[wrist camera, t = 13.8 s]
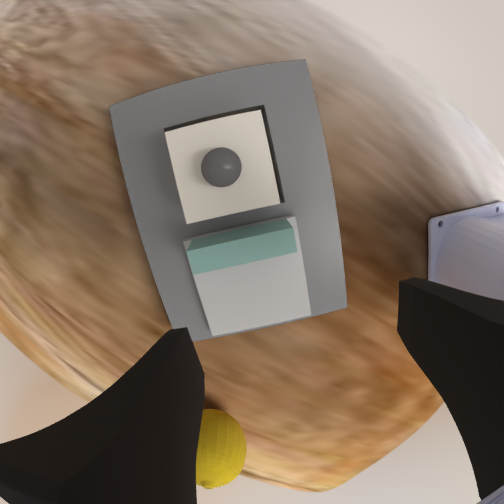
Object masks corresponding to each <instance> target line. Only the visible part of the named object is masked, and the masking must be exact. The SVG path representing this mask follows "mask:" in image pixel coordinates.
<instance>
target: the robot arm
mask: <svg viewBox="0 0 504 504" xmlns="http://www.w3.org/2000/svg"><path fill="white" fill-rule="evenodd" d="M439 221H440V225H439V226H438V223H439ZM428 247H429V257H428V280H425V279H420V278H410V279H407V280H403V281H399V307H398V326H397V331H398V333H399V335H400V337H401V339H402V341H403V343H404V345H405V346H406V348H407V350H408V352H409V353H410V355H411V356H412V357H413V359H414V360H415V361H416V363H417V364H418V365H419V367H420V368H421V369H422V371H423V372H424V373H425V375H426V376H427V377H428V379H429V380H430V381H431V383H432V384H433V386H434V387H435V388H436V390H437V391H438V392H439V394H440V395H441V397H442V398H443V400H444V402H445V403H446V405H447V407H448V409H449V411H450V413H451V415H452V417H453V419H454V421H455V423H456V425H457V427H458V430H459V432H460V434H461V436H462V439H463V441H464V443H465V446H466V449H467V452H468V454H469V458H470V461H471V464H472V467H473V471H474V474H475V478H476V482H477V487H478V492H479V497H480V498H481V501H480V502H479V503H477V504H504V202H497V203H493V204H489V205H484V206H480V207H476V208H472V209H468V210H463V211H459V212H455V213H450V214H446V215H442V216H438V217H433V218H431V219H430V220H429V222H428ZM204 389H205V387H204V372H203V369H202V366H201V364H200V361H199V358H198V356H197V353H196V350H195V348H194V345H193V342H192V339H191V336H190V334H189V331H188V328H187V327H184V328H178V329H171V330H169V331H168V332H166V333H165V334H164V335H163V336H162V337H161V338H160V339H159V340H158V341H157V342H156V343H155V344H154V345H153V346H152V347H151V348H150V349H149V351H148V352H147V353H146V354H145V355H144V356H143V357H142V358H141V359H140V360H139V361H138V362H137V363H136V364H135V365H134V366H133V367H131V368H130V369H129V370H128V371H127V372H126V373H125V374H124V375H123V376H122V377H121V378H120V379H118V380H117V381H116V382H115V383H114V384H113V385H112V386H111V387H109V388H108V389H107V390H106V391H104V392H103V393H102V394H100V395H99V396H98V397H96V398H95V399H94V400H92V401H91V402H90V403H88V404H87V405H85V406H83V407H82V408H80V409H79V410H77V411H75V412H74V413H72V414H70V415H69V416H67V417H66V418H64V419H62V420H60V421H58V422H56V423H54V424H52V425H50V426H49V427H46V428H44V429H42V430H39V431H37V432H35V433H32V434H30V435H27V436H24V437H21V438H18V439H15V440H12V441H9V442H6V443H2V444H0V497H2V498H3V499H4V500H5V501H6V502H8V503H9V504H197V498H196V459H197V449H198V442H199V434H200V427H201V420H202V413H203V406H204Z"/></svg>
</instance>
